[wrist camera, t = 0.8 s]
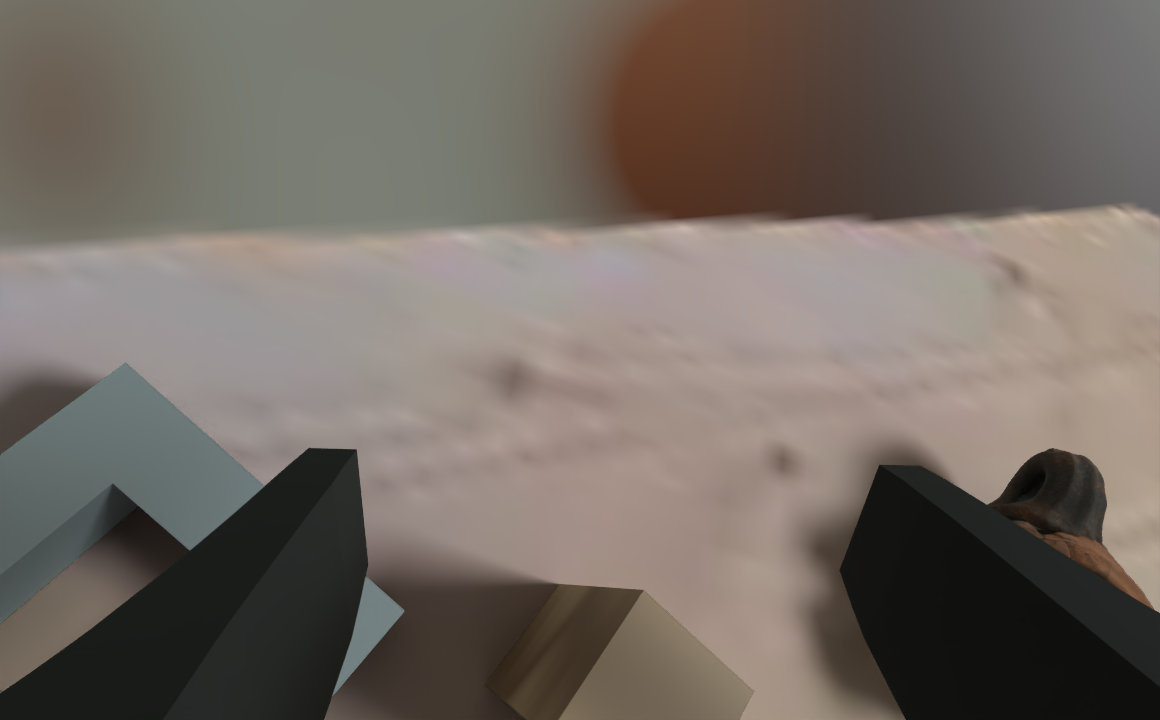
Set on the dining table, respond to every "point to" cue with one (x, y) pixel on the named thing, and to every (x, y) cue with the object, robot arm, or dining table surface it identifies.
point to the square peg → (614, 663)
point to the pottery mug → (1065, 512)
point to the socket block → (127, 492)
